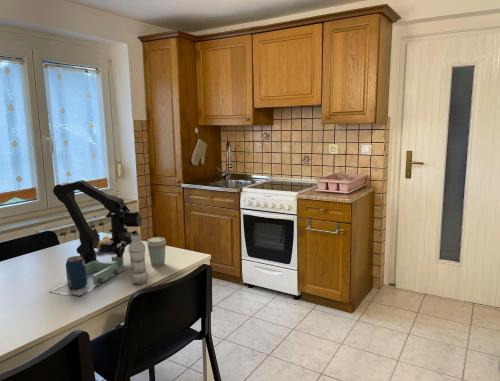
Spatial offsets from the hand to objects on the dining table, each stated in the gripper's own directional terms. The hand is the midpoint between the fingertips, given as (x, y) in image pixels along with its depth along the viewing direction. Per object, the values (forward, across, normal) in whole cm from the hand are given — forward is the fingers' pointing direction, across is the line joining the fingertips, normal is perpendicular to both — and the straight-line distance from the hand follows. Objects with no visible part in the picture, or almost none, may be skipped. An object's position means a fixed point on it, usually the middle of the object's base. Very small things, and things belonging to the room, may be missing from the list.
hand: (120, 259), depth 180 cm
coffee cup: (+2, +4, -17) cm, 18 cm away
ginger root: (+3, +16, +19) cm, 25 cm away
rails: (+2, -19, 0) cm, 20 cm away
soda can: (+2, -27, 0) cm, 27 cm away
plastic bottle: (+2, -16, -21) cm, 27 cm away
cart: (+2, -13, 0) cm, 13 cm away
